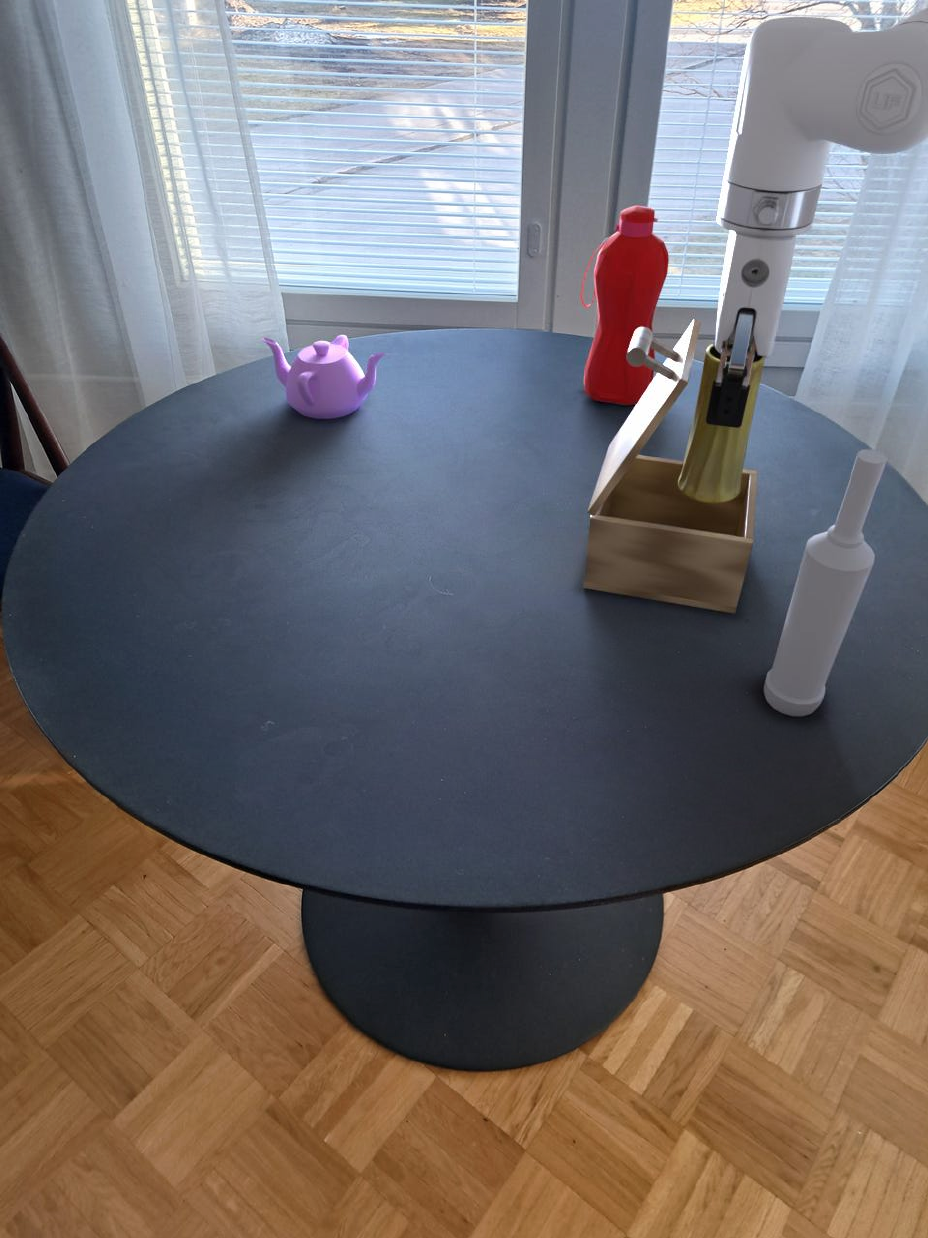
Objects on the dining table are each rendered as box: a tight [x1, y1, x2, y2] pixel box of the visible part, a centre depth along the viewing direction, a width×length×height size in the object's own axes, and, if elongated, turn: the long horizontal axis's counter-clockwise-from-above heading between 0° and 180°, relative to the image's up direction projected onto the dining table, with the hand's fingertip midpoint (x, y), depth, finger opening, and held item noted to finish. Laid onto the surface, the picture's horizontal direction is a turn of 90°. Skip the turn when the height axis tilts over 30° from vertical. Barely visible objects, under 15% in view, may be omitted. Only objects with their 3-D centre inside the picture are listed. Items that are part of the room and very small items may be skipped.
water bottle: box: [580, 205, 670, 407], centre depth 118 cm, size 9×11×25 cm
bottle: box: [763, 448, 888, 717], centre depth 71 cm, size 5×5×25 cm
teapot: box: [262, 334, 387, 420], centre depth 121 cm, size 12×14×9 cm
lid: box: [587, 318, 702, 516], centre depth 85 cm, size 16×14×5 cm
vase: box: [678, 341, 766, 503], centre depth 83 cm, size 6×6×14 cm
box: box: [582, 454, 759, 615], centre depth 92 cm, size 16×14×9 cm
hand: (725, 407), depth 82 cm, fingers closed on vase, 5 cm apart
